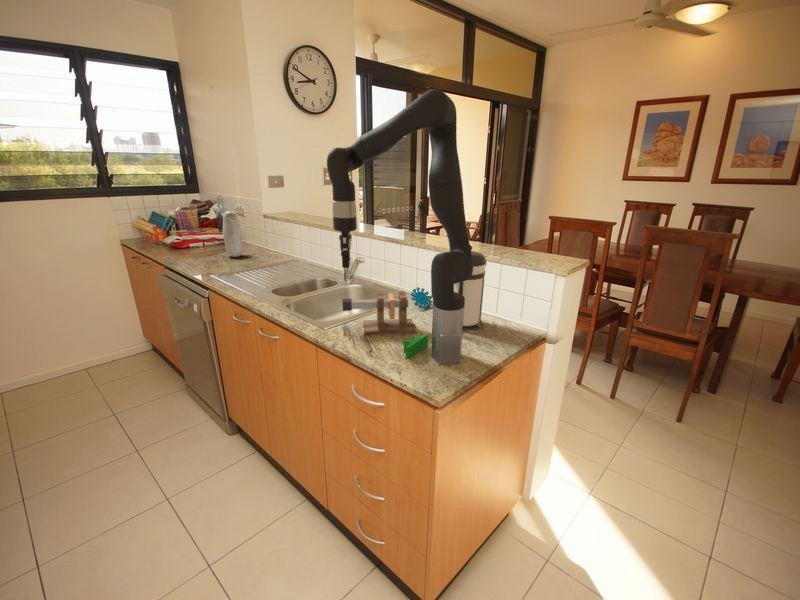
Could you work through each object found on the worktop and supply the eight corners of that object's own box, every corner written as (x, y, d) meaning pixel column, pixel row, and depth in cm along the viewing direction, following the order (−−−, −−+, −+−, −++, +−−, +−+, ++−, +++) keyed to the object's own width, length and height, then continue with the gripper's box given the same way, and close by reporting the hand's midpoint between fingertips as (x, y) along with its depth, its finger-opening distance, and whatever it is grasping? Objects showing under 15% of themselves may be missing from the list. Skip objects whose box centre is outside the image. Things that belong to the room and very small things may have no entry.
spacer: (394, 318, 131) (394, 300, 128) (390, 319, 130) (390, 300, 128) (392, 311, 137) (392, 293, 135) (388, 311, 137) (388, 293, 134)
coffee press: (450, 313, 150) (454, 238, 140) (489, 321, 143) (496, 243, 132) (431, 328, 136) (434, 247, 126) (472, 338, 129) (479, 253, 118)
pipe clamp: (417, 343, 125) (418, 331, 124) (427, 347, 123) (428, 334, 122) (398, 357, 117) (398, 343, 115) (408, 360, 115) (408, 347, 113)
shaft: (408, 308, 132) (408, 299, 131) (342, 310, 129) (342, 302, 128) (407, 305, 135) (407, 296, 134) (343, 307, 132) (342, 298, 131)
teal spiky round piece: (416, 308, 150) (409, 286, 154) (409, 315, 154) (402, 293, 158) (438, 306, 156) (430, 286, 160) (430, 313, 161) (423, 292, 164)
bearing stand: (415, 333, 132) (416, 298, 127) (364, 336, 130) (363, 300, 125) (411, 322, 141) (411, 289, 137) (363, 324, 139) (362, 290, 135)
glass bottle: (245, 257, 232) (239, 211, 223) (227, 259, 228) (220, 212, 218) (243, 254, 240) (236, 209, 231) (225, 255, 236) (218, 210, 226)
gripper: (356, 218, 114) (357, 270, 119) (356, 211, 127) (357, 258, 133) (331, 218, 113) (333, 270, 119) (334, 211, 126) (336, 258, 132)
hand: (346, 263), depth 126 cm, fingers open, 8 cm apart
